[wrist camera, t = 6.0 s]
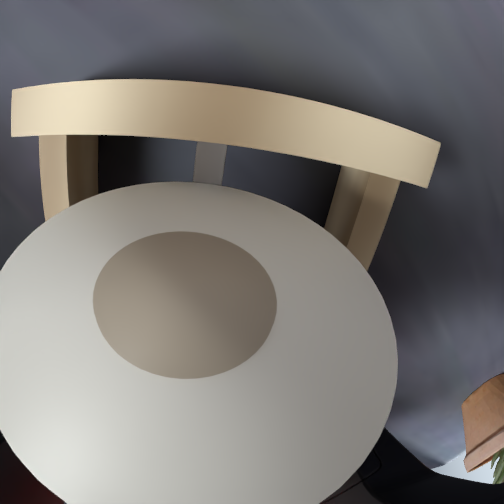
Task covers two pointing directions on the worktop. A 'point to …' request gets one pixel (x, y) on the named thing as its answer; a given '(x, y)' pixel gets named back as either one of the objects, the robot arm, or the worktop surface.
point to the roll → (191, 351)
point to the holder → (224, 142)
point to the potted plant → (485, 427)
